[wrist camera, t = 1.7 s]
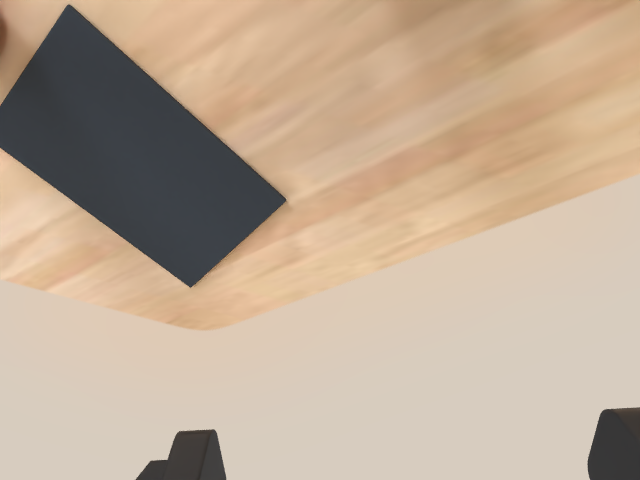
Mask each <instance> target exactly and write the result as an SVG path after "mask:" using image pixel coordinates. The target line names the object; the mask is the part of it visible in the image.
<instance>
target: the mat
mask: <svg viewBox="0 0 640 480" xmlns="http://www.w3.org/2000/svg"><path fill="white" fill-rule="evenodd" d="M0 148H1V149H3V150H4V151H6V152H7V153H8V154H10V155H11V156H12V157H14V158H15V159H16V160H18V161H19V162H21V163H22V164H23V165H25V166H26V167H27V168H29V169H30V170H31V171H33V172H34V173H35V174H37V175H38V176H40V177H41V178H42V179H44V180H45V181H46V182H48V183H49V184H50V185H52V186H53V187H54V188H56V189H57V190H59V191H60V192H61V193H63V194H64V195H65V196H67V197H68V198H69V199H71V200H72V201H74V202H75V203H76V204H78V205H79V206H80V207H82V208H83V209H84V210H86V211H87V212H88V213H90V214H91V215H93V216H94V217H95V218H97V219H98V220H99V221H101V222H102V223H103V224H105V225H106V226H108V227H109V228H110V229H112V230H113V231H114V232H116V233H117V234H118V235H120V236H121V237H122V238H124V239H125V240H127V241H128V242H129V243H131V244H132V245H133V246H135V247H136V248H137V249H139V250H140V251H141V252H143V253H144V254H146V255H147V256H148V257H150V258H151V259H152V260H154V261H155V262H156V263H158V264H159V265H161V266H162V267H163V268H165V269H166V270H167V271H169V272H170V273H171V274H173V275H174V276H175V277H177V278H178V279H180V280H181V281H182V282H184V283H185V284H186V285H188V286H189V287H190V288H191V287H192V286H193V285H194V284H195V283H197V282H198V281H199V280H200V279H201V278H202V277H203V276H204V275H205V274H206V273H208V272H209V271H210V270H211V269H212V268H213V267H214V266H215V265H216V264H217V263H219V262H220V261H221V260H222V259H223V258H224V257H225V256H226V255H227V254H228V253H230V252H231V251H232V250H233V249H234V248H235V247H236V246H237V245H238V244H239V243H240V242H242V241H243V240H244V239H245V238H246V237H247V236H248V235H249V234H250V233H251V232H253V231H254V230H255V229H256V228H257V227H258V226H259V225H260V224H261V223H262V222H264V221H265V220H266V219H267V218H268V217H269V216H270V215H271V214H272V213H273V212H275V211H276V210H277V209H278V208H279V207H280V206H281V205H282V204H283V203H284V202H286V199H285V198H284V197H283V196H282V195H281V194H280V193H279V192H277V191H276V190H275V189H274V188H273V187H272V186H271V185H270V184H269V183H267V182H266V181H265V180H264V179H263V178H262V177H261V176H260V175H259V174H257V173H256V172H255V171H254V170H253V169H252V168H251V167H250V166H249V165H247V164H246V163H245V162H244V161H243V160H242V159H241V158H240V157H239V156H237V155H236V154H235V153H234V152H233V151H232V150H231V149H230V148H229V147H227V146H226V145H225V144H224V143H223V142H222V141H221V140H220V139H219V138H217V137H216V136H215V135H214V134H213V133H212V132H211V131H210V130H209V129H207V128H206V127H205V126H204V125H203V124H202V123H201V122H200V121H199V120H197V119H196V118H195V117H194V116H193V115H192V114H191V113H190V112H189V111H187V110H186V109H185V108H184V107H183V106H182V105H181V104H180V103H179V102H177V101H176V100H175V99H174V98H173V97H172V96H171V95H170V94H169V93H167V92H166V91H165V90H164V89H163V88H162V87H161V86H160V85H159V84H157V83H156V82H155V81H154V80H153V79H152V78H151V77H150V76H149V75H147V74H146V73H145V72H144V71H143V70H142V69H141V68H140V67H138V66H137V65H136V64H135V63H134V62H133V61H132V60H131V59H130V58H128V57H127V56H126V55H125V54H124V53H123V52H122V51H121V50H120V49H118V48H117V47H116V46H115V45H114V44H113V43H112V42H111V41H110V40H108V39H107V38H106V37H105V36H104V35H103V34H102V33H101V32H100V31H98V30H97V29H96V28H95V27H94V26H93V25H92V24H91V23H90V22H88V21H87V20H86V19H85V18H84V17H83V16H82V15H81V14H80V13H78V12H77V11H76V10H75V9H74V8H73V7H72V6H71V5H67V7H66V8H65V10H64V11H63V13H62V14H61V16H60V17H59V19H58V20H57V22H56V23H55V25H54V26H53V28H52V29H51V31H50V32H49V34H48V35H47V37H46V38H45V40H44V41H43V43H42V44H41V46H40V47H39V49H38V50H37V52H36V53H35V55H34V56H33V58H32V59H31V61H30V62H29V64H28V65H27V67H26V68H25V70H24V71H23V73H22V74H21V76H20V77H19V79H18V80H17V82H16V83H15V85H14V86H13V88H12V89H11V91H10V92H9V94H8V95H7V97H6V98H5V100H4V101H3V103H2V104H1V106H0Z"/></svg>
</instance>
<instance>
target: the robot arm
mask: <svg viewBox="0 0 640 480" xmlns="http://www.w3.org/2000/svg"><path fill="white" fill-rule="evenodd" d="M588 473H589V478H590V480H640V408H622V409H606V410H603V411H602V413H601V414H600V417H599V421H598V424H597V428H596V432H595V435H594V439H593V443H592V446H591V450H590V454H589V457H588ZM136 480H226V474H225V470H224V465H223V460H222V455H221V451H220V446H219V441H218V436H217V433H216V431H215V430H195V431H179V432H178V433H177V434H176V436H175V439H174V441H173V445H172V448H171V451H170V454H169V457H168V460H157V461H150V463H149V464H148V465H147V466H146V468H145V469H144V470H143V471H142V472H141V474H140V475H139V476H138V477H137V479H136Z"/></svg>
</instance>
